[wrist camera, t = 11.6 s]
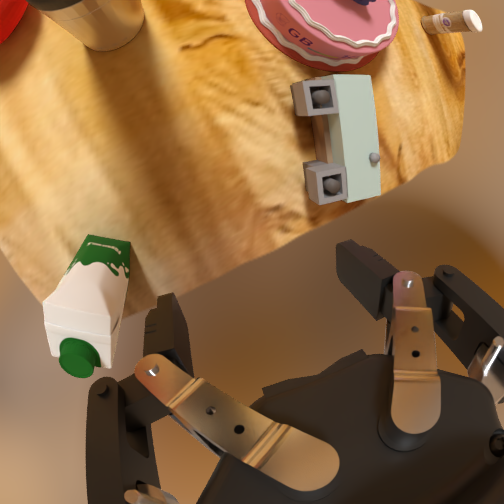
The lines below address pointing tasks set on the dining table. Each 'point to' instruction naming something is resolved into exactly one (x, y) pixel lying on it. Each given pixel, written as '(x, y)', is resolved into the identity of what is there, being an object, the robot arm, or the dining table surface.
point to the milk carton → (89, 306)
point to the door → (344, 137)
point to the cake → (327, 29)
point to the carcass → (320, 137)
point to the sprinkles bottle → (452, 22)
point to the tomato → (10, 16)
